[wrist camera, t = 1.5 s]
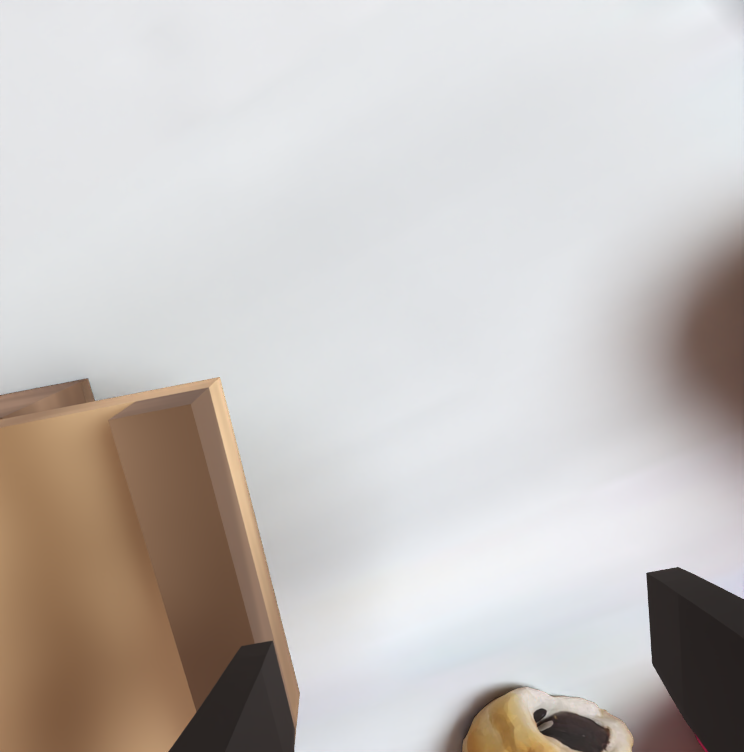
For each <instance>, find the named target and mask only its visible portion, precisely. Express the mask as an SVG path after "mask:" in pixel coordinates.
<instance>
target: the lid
mask: <svg viewBox="0 0 744 752" xmlns="http://www.w3.org/2000/svg"><path fill="white" fill-rule="evenodd" d="M267 641H273V643H274V647H275V651H276V655H277V659H278V663H279V667H280V671H281V675H282V679H283V683H284V687H285V691H286V695H287V699H288V703H289V707H290V711H291V715H292V719H293V723H294V727H295V735H296V725H297V715H298V705H299V696H300V692H299V688H298V684H297V680H296V676H295V672H294V668H293V665H292V661H291V657H290V653H289V649H288V645H287V641H286V637H285V633H284V629H283V625H282V621H281V617H280V613H279V609H278V605H277V601H276V597H275V593H274V589H273V585H272V581H271V578H270V574H269V570H268V566H267V562H266V558H265V554H264V550H263V546H262V542H261V538H260V534H259V530H258V526H257V522H256V518H255V514H254V510H253V506H252V502H251V498H250V494H249V491H248V487H247V483H246V479H245V475H244V471H243V467H242V463H241V459H240V455H239V451H238V447H237V443H236V439H235V435H234V431H233V427H232V423H231V419H230V415H229V411H228V407H227V404H226V400H225V396H224V392H223V388H222V384H221V380H220V377H218V378H213V379H207V380H202V381H197V382H192V383H187V384H181V385H176V386H171V387H166V388H161V389H156V390H150V391H145V392H140V393H135V394H130V395H125V396H119V397H114V398H109V399H104V400H99V401H94V402H88V403H83V404H78V405H73V406H68V407H62V408H57V409H52V410H47V411H42V412H37V413H31V414H26V415H21V416H16V417H11V418H6V419H0V752H168V751H169V750H170V749H171V747H172V746H173V745H174V743H175V742H176V740H177V739H178V738H179V736H180V735H181V733H182V732H183V730H184V729H185V728H186V726H187V725H188V723H189V722H190V720H191V719H192V718H193V716H194V715H195V713H196V712H197V711H198V709H199V708H200V706H201V705H202V703H203V702H204V700H205V699H206V697H207V696H208V694H209V693H210V691H211V690H212V688H213V687H214V685H215V684H216V682H217V681H218V679H219V678H220V676H221V675H222V673H223V672H224V670H225V669H226V667H227V666H228V664H229V663H230V661H231V660H232V659H233V657H234V656H235V654H236V653H237V651H238V650H239V649H240V647H241V646H245V645H250V644H256V643H262V642H267ZM294 745H295V741H294Z"/></svg>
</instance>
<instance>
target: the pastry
mask: <svg viewBox="0 0 744 752" xmlns="http://www.w3.org/2000/svg"><path fill="white" fill-rule="evenodd" d="M632 746H633V737H632V734H631V732H630V731H629V729H628V728H627V727H626V725H625V723H624V722H623V721H621V720H620V719H618V718H616V717H614V716H612V715H611V714H609V713H608V712H607V711H606V710H603V709H599V708H598V706H597V704H595V703H594V702H591V701H588V700H585V699H583V698H574V697H566V696H550V695H549V694H547V693H545V692H543V691H540V690H536V689H533V688H529V687H522V688H517V689H515V690H512V691H510V692H508V693H507V694H505V695H503V696H501V697H498V698H496V699H494V700H493V701H491V702H490V703H489V704H487V705H486V706H485V707H484V708H483V709H482V710H481V711H480V712H479V713H478V714H477V715H476V716H475V717H474V719H473V722H472V724H471V727H470V729H469V731H468V734H467V736H466V738H465V739H463V746H462V752H632V750H631V748H632Z"/></svg>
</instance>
